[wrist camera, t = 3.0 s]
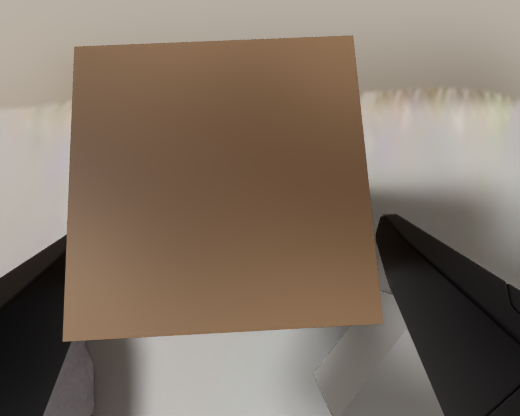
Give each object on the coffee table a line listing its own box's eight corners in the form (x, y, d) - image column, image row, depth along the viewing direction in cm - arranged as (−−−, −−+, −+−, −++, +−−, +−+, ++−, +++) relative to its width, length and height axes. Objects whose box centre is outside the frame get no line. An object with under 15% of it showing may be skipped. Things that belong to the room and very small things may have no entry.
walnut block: (291, 271, 18) (383, 323, 5) (205, 275, 18) (62, 341, 5) (285, 187, 18) (352, 35, 5) (203, 191, 18) (74, 46, 5)
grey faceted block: (461, 362, 17) (544, 407, 12) (396, 450, 16) (456, 536, 11) (378, 290, 18) (425, 304, 13) (312, 372, 17) (334, 422, 12)
